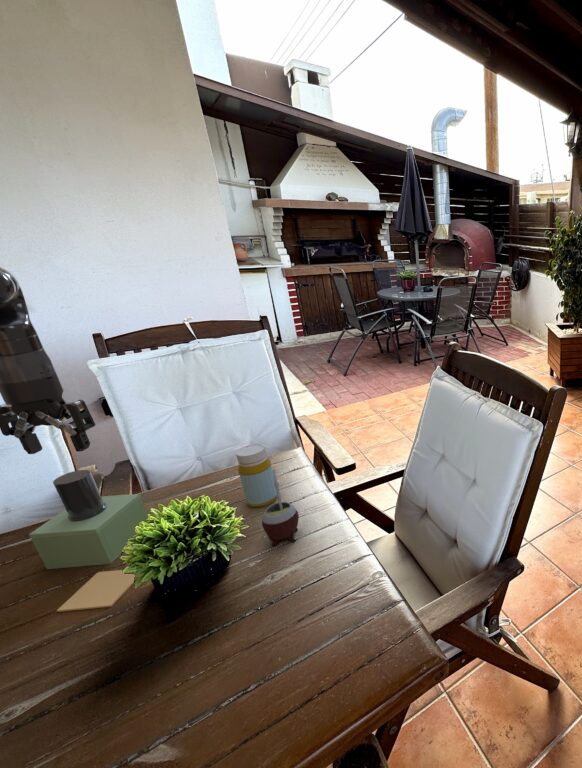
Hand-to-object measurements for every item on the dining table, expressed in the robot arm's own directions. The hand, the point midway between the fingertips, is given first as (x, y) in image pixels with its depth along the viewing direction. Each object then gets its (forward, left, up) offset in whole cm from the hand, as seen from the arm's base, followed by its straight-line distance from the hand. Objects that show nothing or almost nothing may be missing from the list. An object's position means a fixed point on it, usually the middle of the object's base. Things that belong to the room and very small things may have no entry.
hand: (60, 450), depth 80 cm
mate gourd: (+39, -2, -24) cm, 46 cm away
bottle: (+28, +13, -24) cm, 39 cm away
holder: (0, 0, -15) cm, 15 cm away
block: (0, 0, -24) cm, 24 cm away
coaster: (+10, -13, -24) cm, 29 cm away
